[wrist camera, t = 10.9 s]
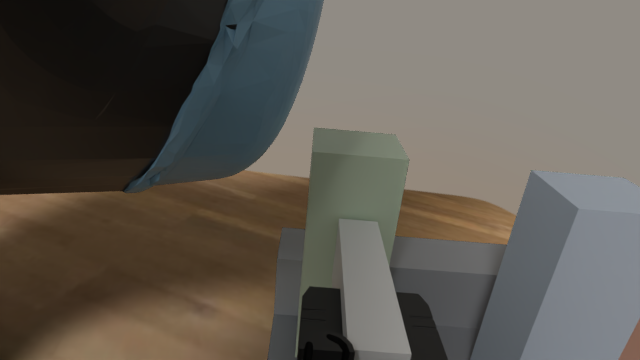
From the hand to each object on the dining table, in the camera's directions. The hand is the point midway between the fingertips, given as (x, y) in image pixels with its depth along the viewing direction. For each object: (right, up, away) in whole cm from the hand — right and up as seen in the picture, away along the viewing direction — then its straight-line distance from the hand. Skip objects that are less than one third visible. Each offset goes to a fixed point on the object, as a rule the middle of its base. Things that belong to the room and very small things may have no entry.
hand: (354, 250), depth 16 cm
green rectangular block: (-1, -5, +4) cm, 6 cm away
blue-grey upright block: (+7, -7, +2) cm, 10 cm away
